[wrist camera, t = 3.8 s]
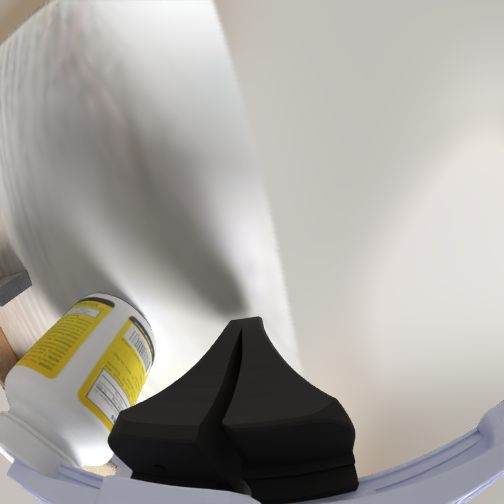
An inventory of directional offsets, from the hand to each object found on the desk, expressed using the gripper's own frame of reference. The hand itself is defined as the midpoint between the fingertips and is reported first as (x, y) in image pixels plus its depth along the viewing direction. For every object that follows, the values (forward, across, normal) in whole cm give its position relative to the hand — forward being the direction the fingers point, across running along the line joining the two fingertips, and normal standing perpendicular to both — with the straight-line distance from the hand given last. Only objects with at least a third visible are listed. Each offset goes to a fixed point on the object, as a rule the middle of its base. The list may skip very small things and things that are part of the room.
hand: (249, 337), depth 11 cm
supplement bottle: (+2, +8, 0) cm, 8 cm away
